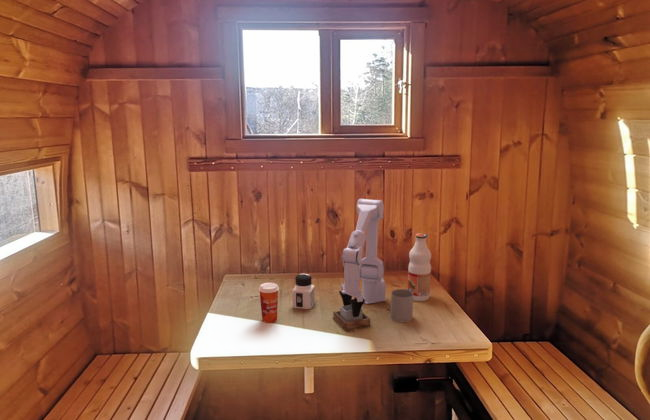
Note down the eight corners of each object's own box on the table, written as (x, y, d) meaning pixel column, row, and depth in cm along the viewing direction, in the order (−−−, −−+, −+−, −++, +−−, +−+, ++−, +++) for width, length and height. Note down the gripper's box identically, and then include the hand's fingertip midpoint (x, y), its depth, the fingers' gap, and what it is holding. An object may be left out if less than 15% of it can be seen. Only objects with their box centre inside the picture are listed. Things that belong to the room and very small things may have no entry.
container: (310, 309, 202) (310, 279, 199) (292, 308, 203) (291, 277, 200) (314, 302, 209) (314, 272, 206) (297, 300, 211) (296, 271, 208)
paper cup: (263, 325, 187) (262, 290, 184) (256, 318, 194) (255, 284, 191) (283, 321, 191) (282, 287, 188) (275, 314, 198) (274, 280, 194)
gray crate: (356, 316, 193) (356, 303, 192) (362, 322, 189) (362, 308, 188) (340, 320, 191) (340, 306, 190) (345, 325, 186) (345, 311, 185)
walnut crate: (356, 314, 197) (357, 307, 196) (370, 326, 187) (370, 318, 186) (333, 318, 193) (333, 311, 192) (345, 330, 183) (345, 323, 182)
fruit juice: (427, 303, 208) (430, 238, 202) (405, 300, 211) (407, 236, 205) (430, 294, 216) (433, 232, 210) (409, 292, 219) (411, 230, 213)
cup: (414, 314, 197) (414, 290, 195) (410, 323, 189) (411, 298, 187) (392, 311, 200) (393, 288, 197) (388, 320, 192) (389, 295, 190)
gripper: (334, 274, 191) (334, 307, 194) (350, 287, 178) (350, 322, 181) (350, 271, 194) (350, 304, 197) (368, 284, 181) (367, 318, 184)
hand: (351, 312), depth 189 cm, fingers open, 7 cm apart
